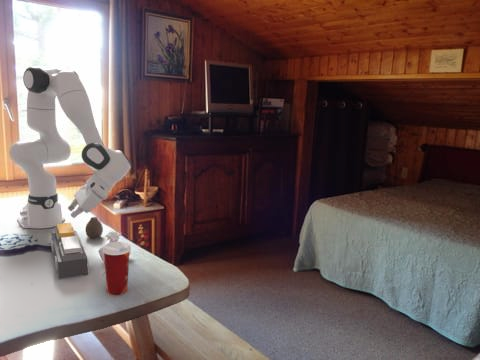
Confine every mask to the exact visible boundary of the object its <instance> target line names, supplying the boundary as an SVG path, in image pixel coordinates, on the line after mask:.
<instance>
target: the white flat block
mask: <svg viewBox="0 0 480 360" xmlns="http://www.w3.org/2000/svg"><path fill="white" fill-rule="evenodd" d="M61 243H62V247H63V250H64V253H65V254H69V253H77V252H81V247H80V244H79V242H78V239H77V237H76V236H71V237H62V238H61Z"/></svg>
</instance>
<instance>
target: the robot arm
mask: <svg viewBox="0 0 480 360" xmlns="http://www.w3.org/2000/svg"><path fill="white" fill-rule="evenodd" d="M22 80H23V85H24V86H25V88H26V89H27V90H28V91H27V96H26V97H27V99H26V124H27V126H28V127H29V128H30V129H31V130H33V131H34V132H37V133H38V135H39V139H23V140H19V141H15V142H13V143H12V144H11V145H10V148H9V149H8V150H9V151H8V154H9V158H10V160H11V161H12V162H13V163H14V164H15V165H17V166H18V167H19V168H21V169H22V170H23V172H24V173H25V174H26V178H27V182H28V191H29V192H28V193H29V194H28V197H27V203H26V204H25V205H24V206H23V207H22V210H20V211H19V215H20V216H18V217H17V219H16V220H17V222H18V223H19V225H20V226H21V228H22V229H39V230H40V229H49V228H56V227H57V224H60V223H63V222H64V221H66V218H64V217H63V213H62V212H63V211H62V205H61V204H60V203H59V202H58V200H59V199H58V198H59V194H58V193H57V178H56V177H55V175H54V174H53V173H51V172H49V171H46V170H45V169H44V168H45V167H44V165H45V164H46V165H47V164H48V165H49V164H55V163H56V164H57V163H61V162H63V161H64V162H65V161H67V160H68V159H69V158H70V156H71V153H72V152H71V151H72V150H71V149H72V148H71V146H70V144H69V143H68V141H66V140H65V139H64V138H63V137H62V136H61V134H60V133H59V131H58V128H57V122H56V121H57V120H56V98H57V100H58V103H59V105H60V108H61V109H62V111H63V113H64V114H65V116H66V117H67V118H68V119H69V120H70V122H71V123H72V124H74V126H76V128H77V130H78V131H79V132H80V133H81V135H82V137H83V140H84V142H85V146H84V148H83V149H82V151H81V159H82V161H83V163H84V164H85V165H86V166H87V167H88V168H90V169H91V171H93V173H92V174H91V176H90V177H89V178H88V179H87V180H86V181H85V184H83V185H82V186H81V187H80V188H79V189H78V190H77V191H76V192H75V193H74V195H73V197H74V199H73V200H72V202H71V203H70V205H69V206H67V210H69V212H71V213H70V216H71V218H73V219H75V218H77V216H79V215H80V214H82V213H83V212H84V213H85V214H88V213H90V212H92V210H94V209H95V208H96V207H97V206H98V205H99V204H100V203H101V202H102V201H105V200H106V199H107V198H108V197H109V193H110V191H111V190H112V189H113V188H114V186H115V185H116V184H117V183H118V182H120V181H122V179H123V178H124V177H125V176H126V175H127V174H128V172H129V171H130V170H131V168H132V163H131V161H130V159H129V157H127V155H126V154H125V152H123V151H122V150H115V149H112V148H109V147H107V146H105V145H104V142H103V140H102V137H101V136H100V133H99V131H98V128H97V126H96V122H95V119H94V117H95V116H94V115H93V110H92V105H91V102H90V99H89V98H90V97H89V96H88V93H87V91H86V89H85V86H84V84H83V82H82V81H81V79H80V77H79V75H78V73H77V72H76V71H75V70H73V69H70V68H61V67H57V66H37V65H36V66H29V67H27V68H26V69H25V71H24V72H23V75H22ZM76 207H77V208H76ZM75 208H76V209H75Z"/></svg>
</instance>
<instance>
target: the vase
mask: <svg viewBox="0 0 480 360" xmlns="http://www.w3.org/2000/svg"><path fill="white" fill-rule="evenodd" d="M103 232H104V229H103V224H102V223H101V221H100V220H99V218H98V217H96V216H93V217H90V220H89V221H88V222H87V224H86V226H85V234H86V236H87V238H89V239H90V240H96V239H99V238H101V237H102V235H103Z"/></svg>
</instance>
